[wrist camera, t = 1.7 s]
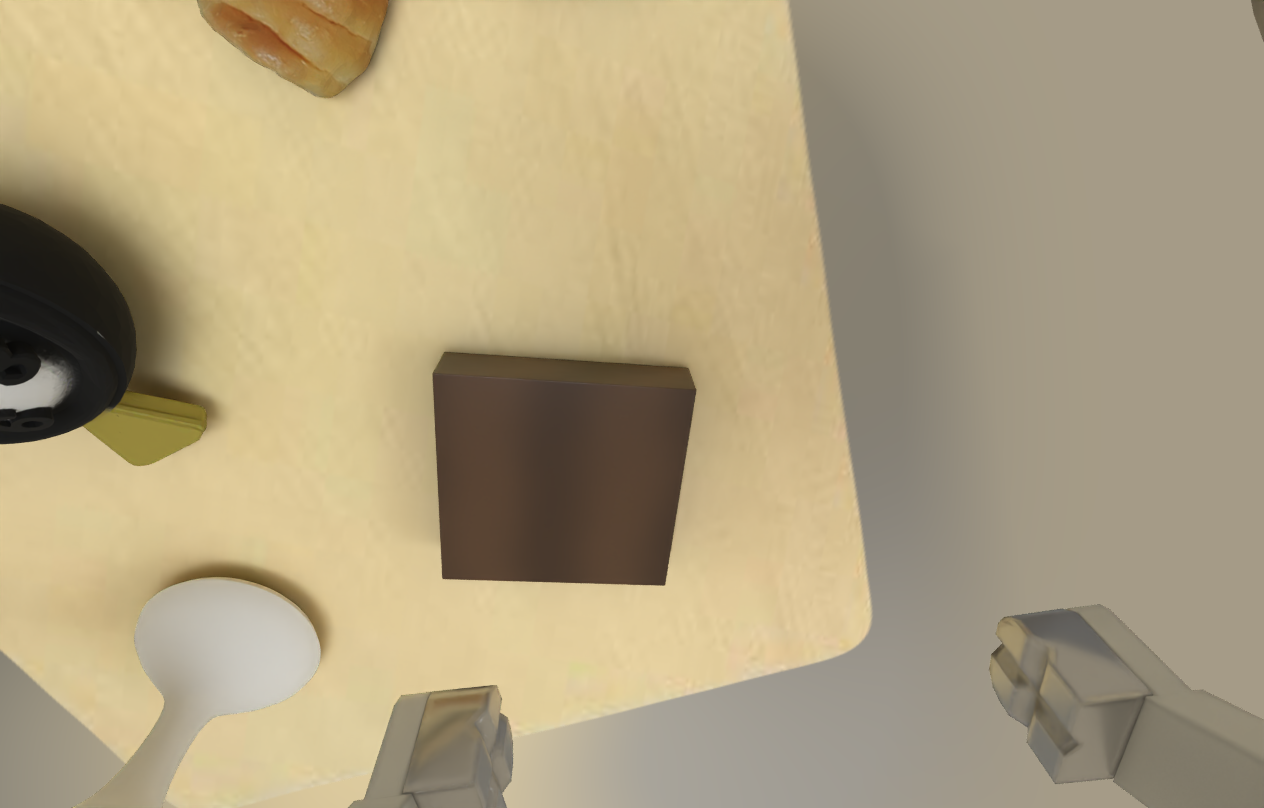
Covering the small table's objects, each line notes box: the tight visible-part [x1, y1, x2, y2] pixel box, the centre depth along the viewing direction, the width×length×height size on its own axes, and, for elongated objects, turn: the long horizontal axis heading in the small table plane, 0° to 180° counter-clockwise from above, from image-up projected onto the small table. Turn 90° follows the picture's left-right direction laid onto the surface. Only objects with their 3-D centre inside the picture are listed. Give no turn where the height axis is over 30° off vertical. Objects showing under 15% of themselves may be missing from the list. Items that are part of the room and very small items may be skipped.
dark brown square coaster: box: [433, 352, 696, 586], centre depth 37 cm, size 14×14×3 cm
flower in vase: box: [72, 577, 321, 808], centre depth 32 cm, size 13×11×25 cm
